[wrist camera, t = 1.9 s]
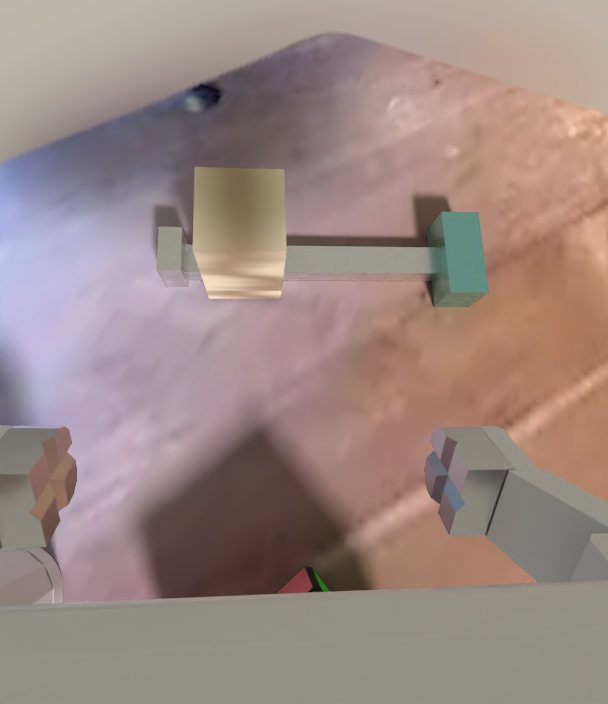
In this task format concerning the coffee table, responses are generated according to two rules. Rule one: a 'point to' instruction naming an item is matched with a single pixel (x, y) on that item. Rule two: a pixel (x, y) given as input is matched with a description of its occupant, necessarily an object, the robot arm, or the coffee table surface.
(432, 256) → the rail
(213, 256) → the beige slider block
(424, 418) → the coffee table surface
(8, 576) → the cup
